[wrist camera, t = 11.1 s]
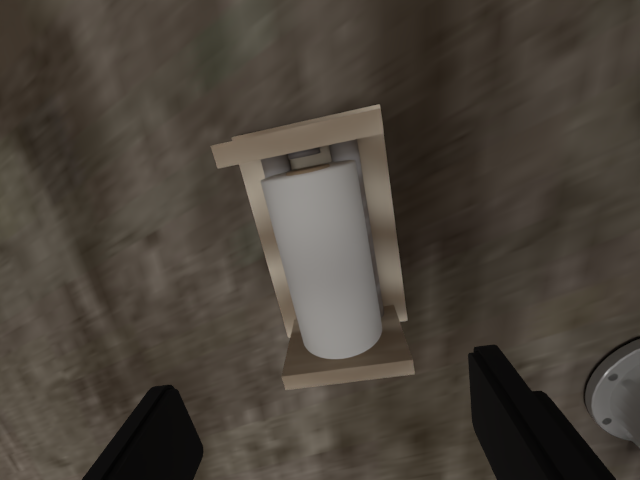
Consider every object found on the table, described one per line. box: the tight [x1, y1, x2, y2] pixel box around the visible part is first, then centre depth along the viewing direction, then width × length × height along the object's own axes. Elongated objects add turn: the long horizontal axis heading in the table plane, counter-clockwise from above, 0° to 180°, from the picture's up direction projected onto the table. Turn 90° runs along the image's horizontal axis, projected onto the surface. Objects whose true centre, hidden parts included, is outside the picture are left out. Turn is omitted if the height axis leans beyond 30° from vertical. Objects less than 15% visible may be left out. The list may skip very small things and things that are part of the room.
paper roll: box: [261, 160, 382, 359], centre depth 21 cm, size 12×6×6 cm, turn 12°
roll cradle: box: [211, 104, 415, 390], centre depth 22 cm, size 18×11×8 cm, turn 12°
